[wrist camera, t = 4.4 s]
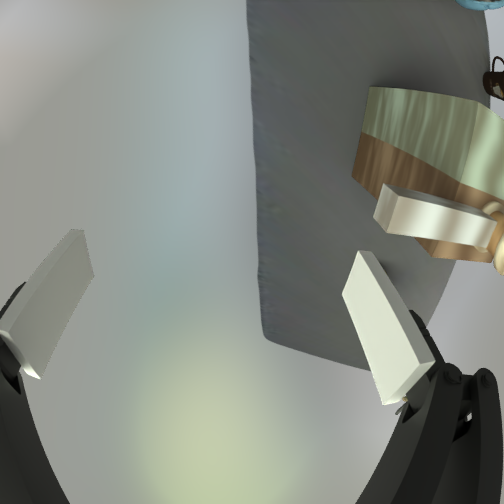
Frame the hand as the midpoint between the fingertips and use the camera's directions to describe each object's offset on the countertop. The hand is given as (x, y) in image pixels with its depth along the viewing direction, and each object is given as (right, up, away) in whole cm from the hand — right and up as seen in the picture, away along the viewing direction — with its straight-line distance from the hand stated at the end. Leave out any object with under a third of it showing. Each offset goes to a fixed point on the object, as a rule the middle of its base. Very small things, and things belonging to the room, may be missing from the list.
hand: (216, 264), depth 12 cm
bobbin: (+24, +4, +12) cm, 27 cm away
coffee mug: (+59, +43, +24) cm, 77 cm away
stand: (+30, +23, +35) cm, 51 cm away
